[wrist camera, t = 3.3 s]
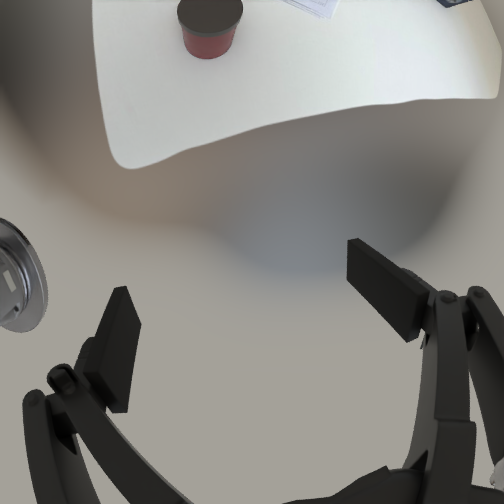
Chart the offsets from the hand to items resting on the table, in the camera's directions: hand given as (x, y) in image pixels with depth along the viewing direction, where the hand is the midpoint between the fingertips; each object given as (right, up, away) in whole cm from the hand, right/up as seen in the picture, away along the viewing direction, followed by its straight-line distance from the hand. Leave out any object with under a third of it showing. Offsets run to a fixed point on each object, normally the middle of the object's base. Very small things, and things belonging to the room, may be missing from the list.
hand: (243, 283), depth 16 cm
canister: (-5, +30, +13) cm, 33 cm away
